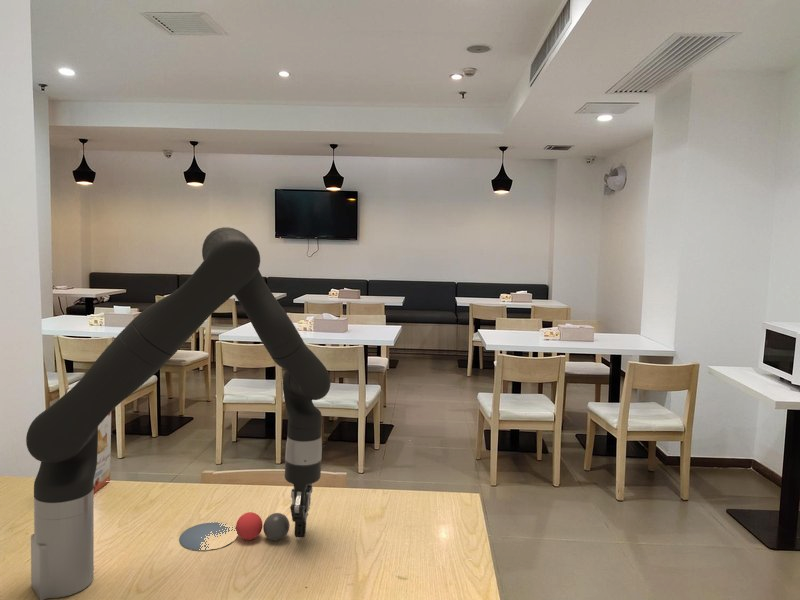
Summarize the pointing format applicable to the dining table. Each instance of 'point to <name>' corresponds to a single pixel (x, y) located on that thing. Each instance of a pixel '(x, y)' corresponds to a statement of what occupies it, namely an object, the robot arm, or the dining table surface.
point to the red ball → (249, 526)
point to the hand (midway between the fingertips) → (300, 535)
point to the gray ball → (276, 526)
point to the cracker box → (103, 454)
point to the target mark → (200, 534)
